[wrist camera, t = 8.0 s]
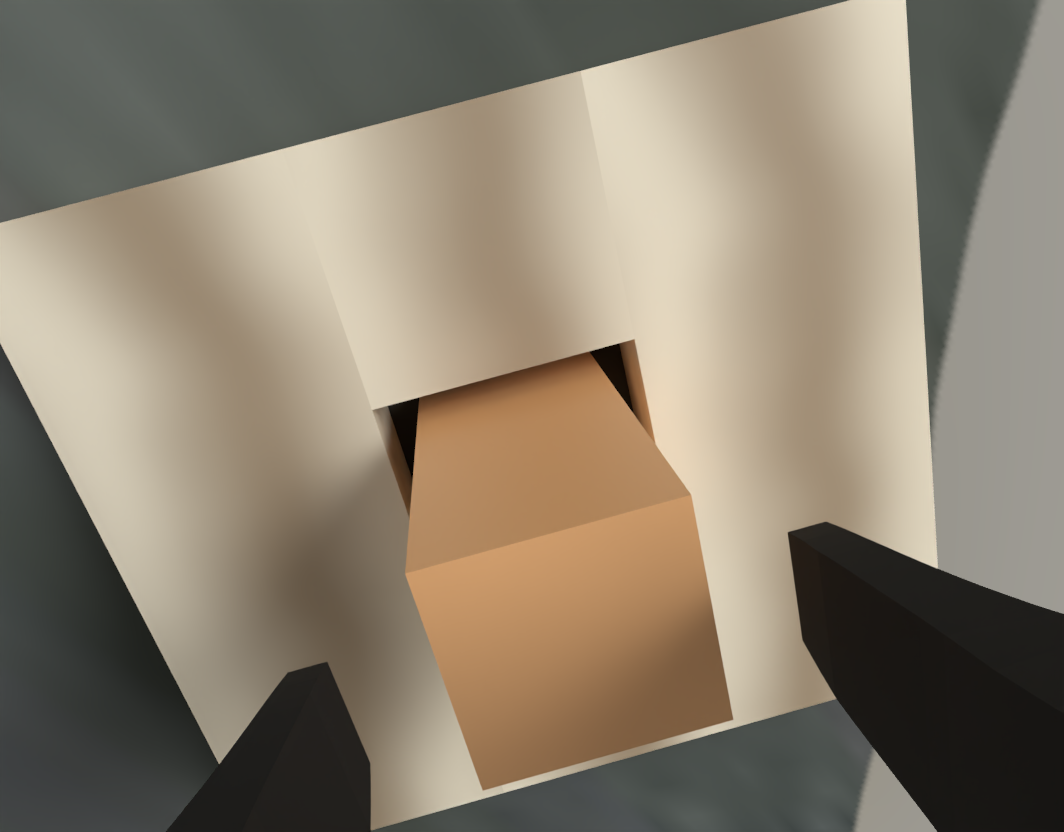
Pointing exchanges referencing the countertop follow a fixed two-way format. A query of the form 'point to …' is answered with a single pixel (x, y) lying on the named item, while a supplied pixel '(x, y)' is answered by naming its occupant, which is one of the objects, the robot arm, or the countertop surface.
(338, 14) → the countertop surface
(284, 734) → the robot arm
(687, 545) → the orange rectangular block
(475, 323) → the holder plate
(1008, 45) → the countertop surface
